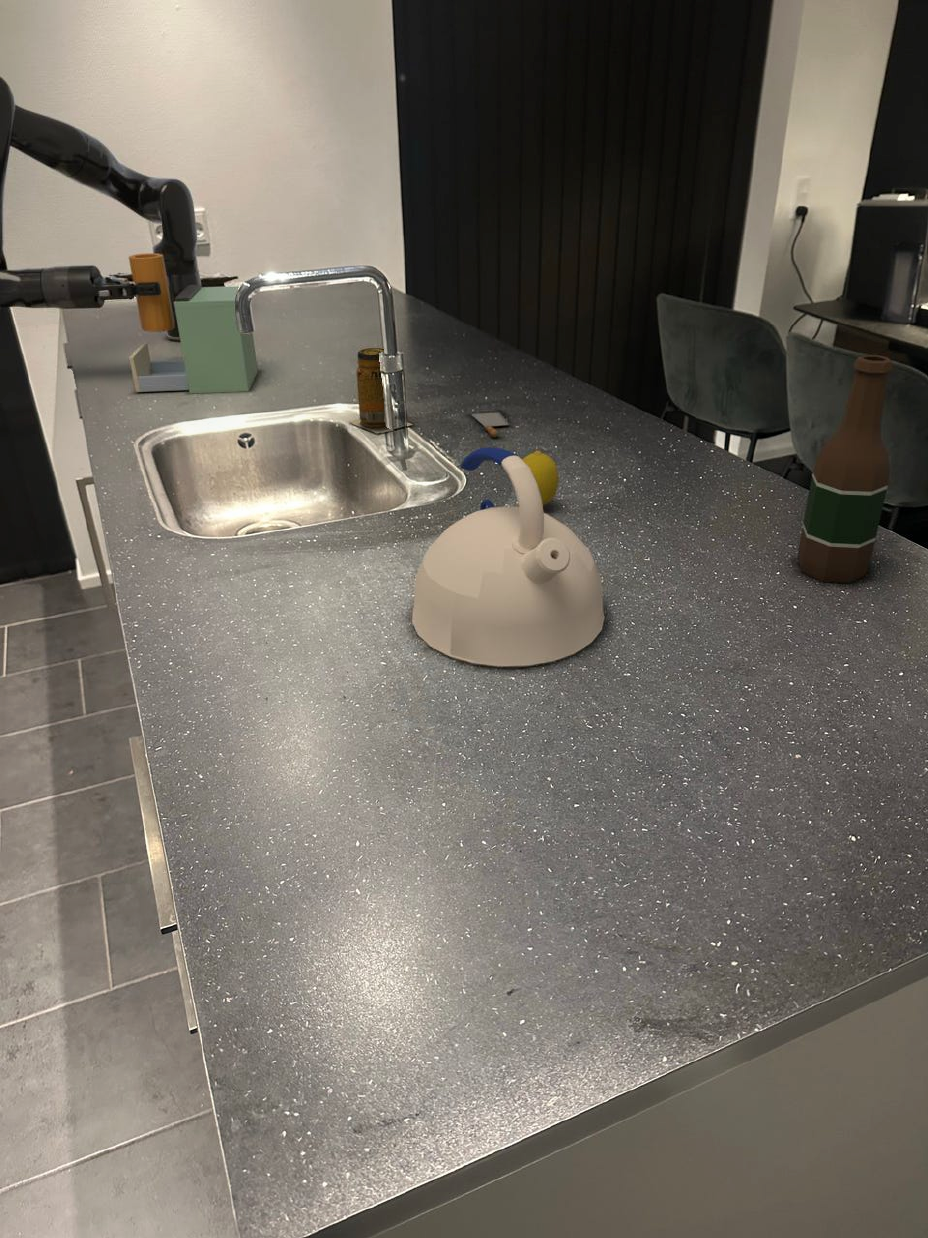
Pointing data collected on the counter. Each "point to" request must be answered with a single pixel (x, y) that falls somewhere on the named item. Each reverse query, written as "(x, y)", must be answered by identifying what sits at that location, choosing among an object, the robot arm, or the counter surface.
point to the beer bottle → (849, 483)
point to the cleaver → (491, 421)
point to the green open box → (214, 341)
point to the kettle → (508, 581)
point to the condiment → (370, 392)
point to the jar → (152, 307)
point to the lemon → (543, 474)
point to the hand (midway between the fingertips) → (164, 284)
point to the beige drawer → (156, 373)
